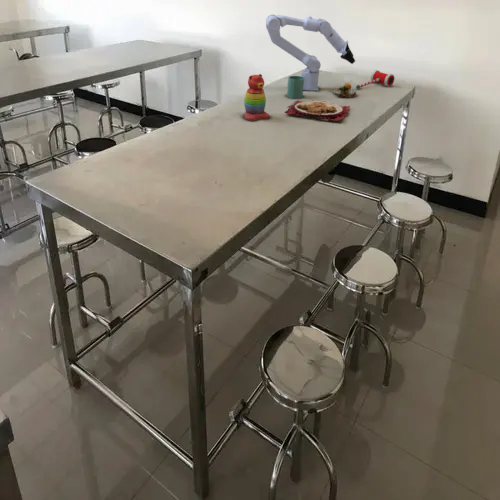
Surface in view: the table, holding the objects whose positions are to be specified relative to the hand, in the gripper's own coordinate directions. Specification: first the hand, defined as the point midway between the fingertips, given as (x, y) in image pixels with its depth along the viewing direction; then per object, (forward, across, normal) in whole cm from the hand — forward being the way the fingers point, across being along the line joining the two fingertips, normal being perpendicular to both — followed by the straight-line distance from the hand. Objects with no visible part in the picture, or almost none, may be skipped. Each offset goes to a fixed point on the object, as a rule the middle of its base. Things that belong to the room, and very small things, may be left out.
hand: (352, 59), depth 248 cm
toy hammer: (+22, +7, +2) cm, 23 cm away
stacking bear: (-29, -53, +39) cm, 72 cm away
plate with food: (-7, -43, +20) cm, 48 cm away
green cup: (-13, -19, +29) cm, 37 cm away
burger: (+6, -13, +13) cm, 19 cm away
